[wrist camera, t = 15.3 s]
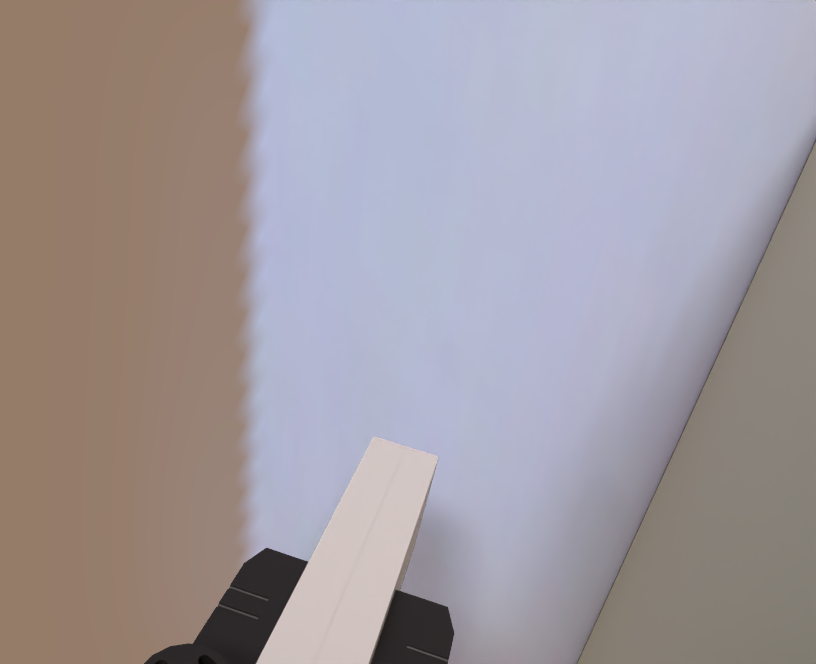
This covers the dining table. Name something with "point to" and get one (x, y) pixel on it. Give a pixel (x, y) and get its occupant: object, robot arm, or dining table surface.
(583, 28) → the dining table surface
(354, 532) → the robot arm
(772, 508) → the drawer
